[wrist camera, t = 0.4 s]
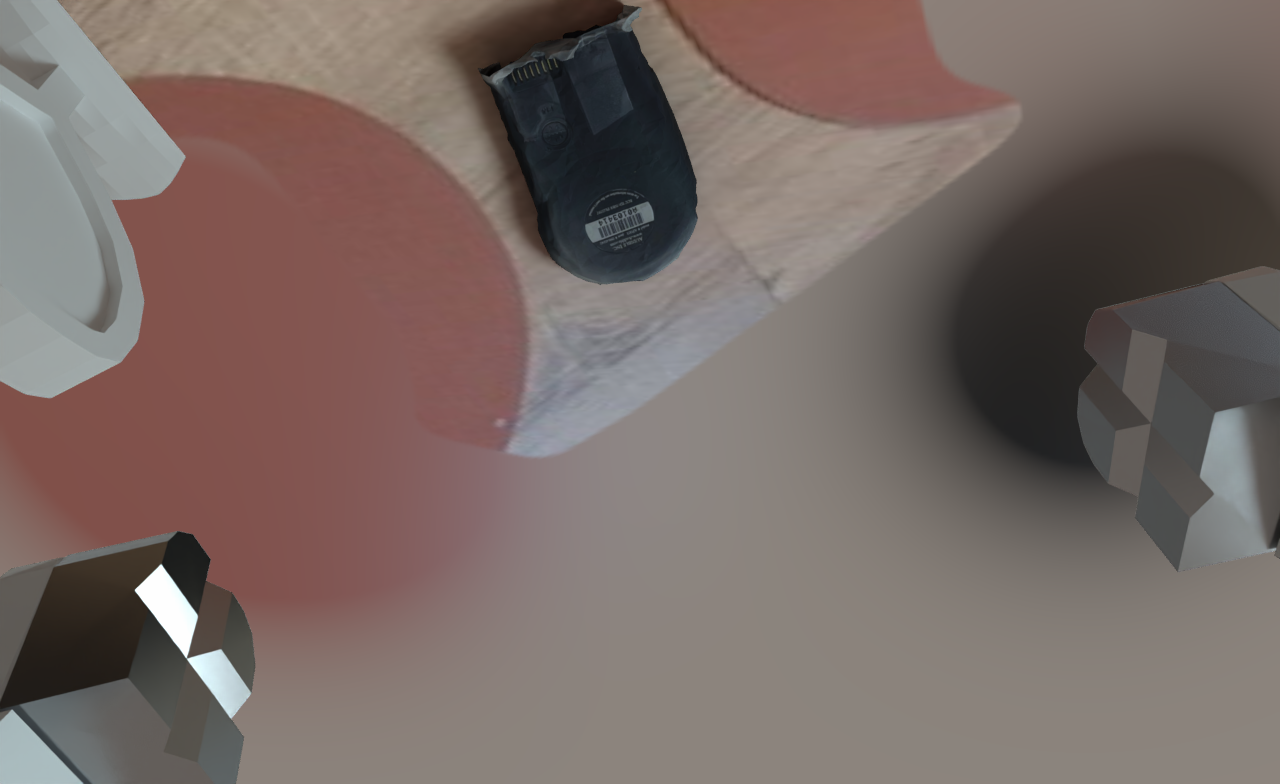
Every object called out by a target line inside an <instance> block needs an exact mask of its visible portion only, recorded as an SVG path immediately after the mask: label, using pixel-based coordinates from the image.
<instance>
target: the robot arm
mask: <svg viewBox="0 0 1280 784" xmlns="http://www.w3.org/2000/svg"><path fill="white" fill-rule="evenodd" d="M1084 348H1085V349H1086V350H1087V352H1088V353H1089V354H1090V355H1091V356H1092V357H1093V358H1094V359H1095V361H1096V362H1097V363H1098V364H1097V366H1096V367H1095V368H1094V369H1093V371H1092V372H1091V373H1090V374H1089V376H1088V377H1087V378H1086V379H1085V381H1084V382H1083V383H1082V384H1081V386H1080V387H1079V400H1078V413H1077V416H1078V421H1079V425H1080V430H1081V434H1082V439H1083V443H1084V445H1085V447H1086V449H1087V451H1088V454H1089V456H1090V458H1091V460H1092V462H1093V464H1094V465H1095V467H1096V468H1097V469H1098V471H1099V472H1100V473H1101V475H1102V476H1103V477H1104V478H1105V480H1106V481H1107V483H1108V484H1111V485H1113V486H1115V487H1117V488H1120V489H1122V490H1124V491H1127V492H1129V493H1131V494H1134V495H1136V496H1138V502H1137V510H1136V515H1135V518H1136V520H1137V521H1138V522H1139V524H1140V525H1141V526H1142V527H1143V528H1144V530H1145V531H1146V532H1147V534H1148V535H1149V536H1150V538H1151V539H1152V540H1153V541H1154V542H1155V544H1156V545H1157V546H1158V548H1159V549H1160V550H1161V551H1162V553H1163V554H1164V555H1165V556H1166V558H1167V559H1168V560H1169V561H1170V563H1171V564H1172V565H1173V566H1174V568H1175V569H1176V570H1177V572H1180V571H1185V570H1190V569H1194V568H1199V567H1203V566H1208V565H1213V564H1217V563H1222V562H1226V561H1231V560H1235V559H1240V558H1245V557H1249V556H1254V555H1258V554H1263V553H1267V552H1272V551H1275V556H1276V557H1277V558H1279V559H1280V271H1279V270H1276V269H1272V268H1268V267H1264V266H1261V267H1257V268H1254V269H1250V270H1247V271H1242V272H1239V273H1235V274H1231V275H1227V276H1223V277H1220V278H1216V279H1212V280H1208V281H1206V282H1205V283H1204V284H1199V285H1194V286H1190V287H1186V288H1182V289H1178V290H1174V291H1170V292H1166V293H1162V294H1157V295H1154V296H1150V297H1145V298H1141V299H1137V300H1133V301H1129V302H1125V303H1121V304H1117V305H1113V306H1109V307H1105V308H1101V309H1097V310H1095V312H1094V314H1093V316H1092V318H1091V319H1090V321H1089V323H1088V325H1087V332H1086V340H1085V346H1084ZM210 560H211V559H210V558H209V556H208V555H207V554H206V552H205V551H204V549H203V548H202V547H201V545H200V544H199V543H198V541H197V540H196V538H195V537H194V535H193V534H189V533H185V532H180V531H177V532H172V533H167V534H163V535H158V536H153V537H149V538H144V539H140V540H135V541H130V542H126V543H121V544H117V545H112V546H108V547H103V548H98V549H94V550H89V551H85V552H80V553H76V554H71V555H68V556H67V557H64V558H57V559H52V560H48V561H44V562H39V563H34V564H30V565H26V566H21V567H16V568H12V569H10V570H9V571H8V572H6V573H5V574H3V575H2V576H1V577H0V784H236V781H237V775H238V769H239V763H240V758H241V752H242V746H243V741H244V736H243V735H242V734H241V732H240V731H239V729H238V728H237V727H236V725H235V724H234V722H233V721H232V720H231V718H232V717H233V716H234V714H235V713H236V712H237V711H238V709H239V708H240V707H241V706H242V704H243V703H244V702H245V701H246V700H247V698H248V697H249V696H250V695H251V692H252V686H253V679H254V672H255V657H254V647H253V638H252V632H251V629H250V627H249V624H248V621H247V618H246V616H245V613H244V611H243V609H242V607H241V606H240V604H239V603H238V601H237V599H236V598H235V596H234V595H233V594H232V592H230V591H227V590H225V589H223V588H221V587H219V586H216V585H214V584H212V583H210V582H207V581H206V578H207V573H208V569H209V565H210Z"/></svg>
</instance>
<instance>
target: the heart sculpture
mask: <svg viewBox="0 0 1280 784" xmlns="http://www.w3.org/2000/svg"><path fill="white" fill-rule="evenodd" d="M185 157H186V156H185V155H184V154H183V153H182V152H181V150H180V149H179V148H178V147H177V146H176V144H175V143H174V142H173V141H172V139H171V138H170V137H169V136H168V135H167V133H166V132H165V131H164V130H163V128H162V127H161V126H160V125H159V124H158V122H157V121H156V120H155V119H154V118H153V116H152V115H151V114H150V113H149V111H148V110H147V109H146V108H145V107H144V105H143V104H142V103H141V102H140V101H139V99H138V98H137V97H136V96H135V94H134V93H133V92H132V91H131V90H130V88H129V87H128V86H127V85H126V84H125V82H124V81H123V80H122V79H121V77H120V76H119V75H118V74H117V73H116V71H115V70H114V69H113V68H112V66H111V65H110V64H109V63H108V62H107V60H106V59H105V58H104V57H103V56H102V54H101V53H100V52H99V51H98V49H97V48H96V47H95V46H94V45H93V43H92V42H91V41H90V40H89V39H88V37H87V36H86V35H85V34H84V32H83V31H82V30H81V29H80V28H79V26H78V25H77V24H76V23H75V22H74V20H73V19H72V18H71V17H70V15H69V14H68V13H67V12H66V11H65V9H64V8H63V7H62V6H61V5H60V3H59V2H58V1H57V0H0V381H2V382H3V383H5V384H7V385H9V386H11V387H13V388H15V389H16V390H18V391H20V392H22V393H24V394H28V395H34V396H40V397H46V398H52V397H54V396H56V395H58V394H60V393H62V392H64V391H66V390H68V389H70V388H71V387H74V386H75V385H77V384H79V383H81V382H83V381H85V380H87V379H89V378H91V377H93V376H95V375H97V374H99V373H101V372H103V371H105V370H107V369H109V368H111V367H112V366H114V365H116V364H118V363H120V362H121V361H122V360H123V359H124V358H125V356H126V355H127V354H128V352H129V351H130V350H131V349H132V347H133V346H134V345H135V344H136V342H137V341H138V336H139V330H140V324H141V317H142V312H143V306H144V297H143V293H142V288H141V284H140V279H139V275H138V271H137V266H136V261H135V257H134V252H133V248H132V246H131V244H130V242H129V239H128V237H127V235H126V232H125V230H124V228H123V226H122V223H121V221H120V219H119V217H118V214H117V212H116V210H115V207H114V205H113V203H112V200H129V199H140V198H147V197H151V196H155V195H158V194H160V193H161V192H162V191H163V190H164V189H165V188H166V187H167V186H169V184H170V183H171V182H172V180H173V179H174V177H175V176H176V174H177V173H178V171H179V169H180V167H181V165H182V163H183V161H184V159H185Z"/></svg>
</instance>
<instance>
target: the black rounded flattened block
mask: <svg viewBox="0 0 1280 784" xmlns="http://www.w3.org/2000/svg"><path fill="white" fill-rule="evenodd" d="M641 10H642V8H641V7H634V6H627V5H624V8H623V11H622V13H620V14H619V15H618V18H617V20H616V21H615V22H613V23H611V24H608V25H605V26H603V27H602V26H597V25H595V26H593V27H592V28H590V29H588V30H586V31H576V32H572V33H565V34H564V35H563V39H559V40H554V41H553V40H552V41H546V42H541V43H536V44H534V45H533V47H532V48H531V49H530V50H529V51H528V52H527V53H526V54H525V55H524V56H523V57H522V58H520V59H518V60H517V61H515V62H510V64H509V65H507V66H506V67H504V68H501V66H500V63H499V62H497V63H495V64H492V65H490V66H488V67H486V68H484V69H481V68H478V70H479V72H480V74H481V76H482V78H483V79H484V81H485V82H486V84H488V85H489V86H490V88H491V91H492V94H493V96H494V99H495V103H496V105H497V107H498V109H499V111H500V115H501V119H502V121H503V122H504V125H505V128H506V130H507V133H508V141H509V142H510V144H511V146H512V148H513V149H514V151H515V154H516V157H517V159H518V162H519V164H520V167H521V169H522V173H523V175H524V177H525V180H526V183H527V185H528V188H529V191H530V193H531V196H532V198H533V201H534V203H535V206H536V209H537V212H538V216H537V221H538V231H539V234H540V236H541V238H542V241H543V243H544V245H545V247H546V249H547V251H548V252H549V254H550V257H551V258H552V259H553V260H554V261H555V262H556V264H558V265H559V266H561V267H562V268H564V269H565V270H567V271H568V272H570V273H571V274H573V275H574V276H576V277H578V278H581V279H583V280H585V281H588V282H593V283H598V284H599V285H601V284H611V283H622V282H630V281H643V280H645V279H648V278H649V277H651V276H653V275H655V274H656V273H658V272H659V271H661V270H663V269H664V268H666V267H667V266H668V265H669V264H671V263H672V262H673V261H674V260H676V259H677V258H678V257H679V255H680V252H681V251H682V249H683V248H684V246H685V245H686V243H687V242H688V240H689V239H690V237H691V235H692V233H693V231H694V228H695V225H696V222H697V219H698V217H697V214H696V206H697V194H696V178H695V175H694V172H693V169H692V165H691V161H690V159H689V155H688V152H687V149H686V146H685V143H684V140H683V138H682V135H681V132H680V130H679V127H678V124H677V122H676V119H675V117H674V114H673V112H672V109H671V107H670V105H669V103H668V100H667V98H666V96H665V93H664V91H663V89H662V86H661V84H660V82H659V80H658V78H657V76H656V74H655V72H654V71H653V69H652V68H651V67H650V66H649V65H648V62H647V60H646V59H645V57H644V55H643V54H642V52H641V49H640V45H639V42H638V40H637V38H636V36H635V34H634V32H633V30H632V28H631V27H630V24H631V23H632V21H633V20H635V19H636V18H638V17H639V13H640V11H641Z"/></svg>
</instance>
